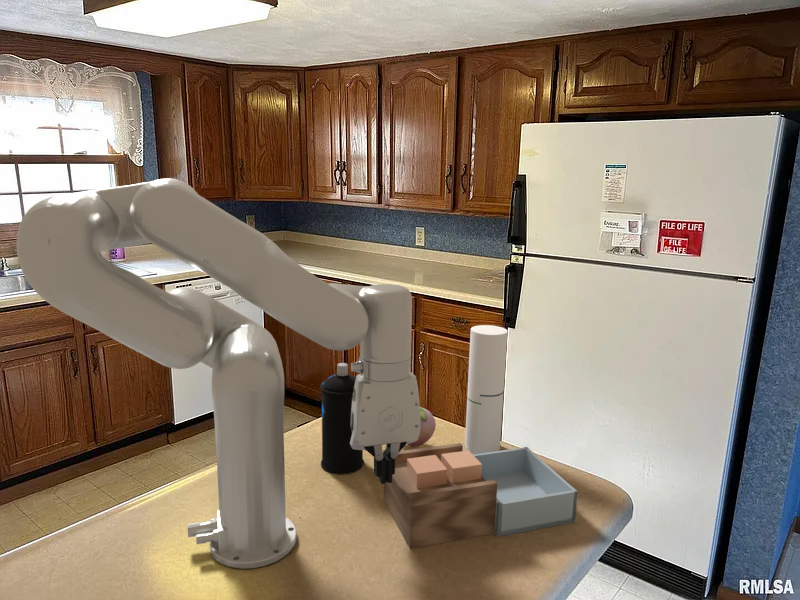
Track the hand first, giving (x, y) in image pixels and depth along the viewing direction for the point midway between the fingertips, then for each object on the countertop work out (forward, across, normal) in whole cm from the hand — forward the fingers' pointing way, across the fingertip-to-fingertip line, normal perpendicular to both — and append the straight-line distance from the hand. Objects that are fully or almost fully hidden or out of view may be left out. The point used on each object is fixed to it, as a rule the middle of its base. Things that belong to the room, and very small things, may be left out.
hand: (384, 478), depth 92 cm
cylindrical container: (+8, +27, +20) cm, 35 cm away
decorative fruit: (+8, +13, +24) cm, 29 cm away
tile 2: (+1, +13, 0) cm, 13 cm away
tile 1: (+1, +7, 0) cm, 7 cm away
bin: (+8, +23, 0) cm, 24 cm away
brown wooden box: (+8, +9, 0) cm, 12 cm away
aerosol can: (+8, -2, +21) cm, 23 cm away
